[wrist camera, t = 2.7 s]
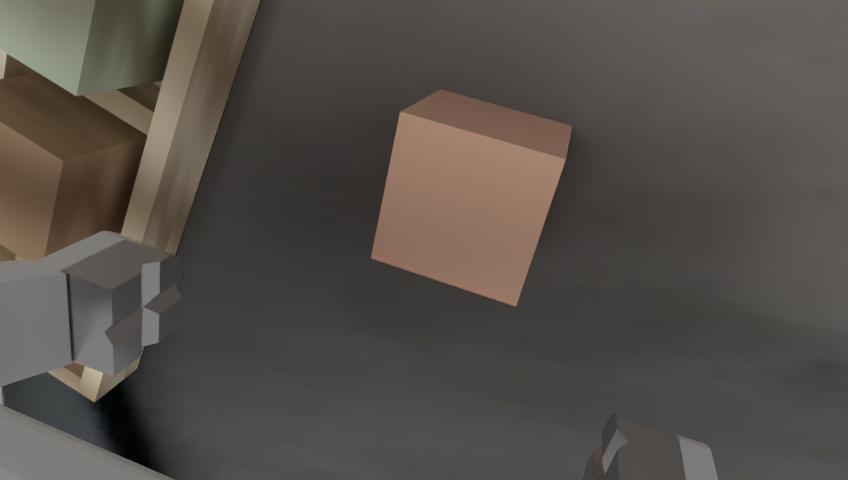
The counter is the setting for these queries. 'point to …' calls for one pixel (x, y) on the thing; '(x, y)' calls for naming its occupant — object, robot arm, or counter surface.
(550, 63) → the counter surface
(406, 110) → the terracotta cube
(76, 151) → the block rack
